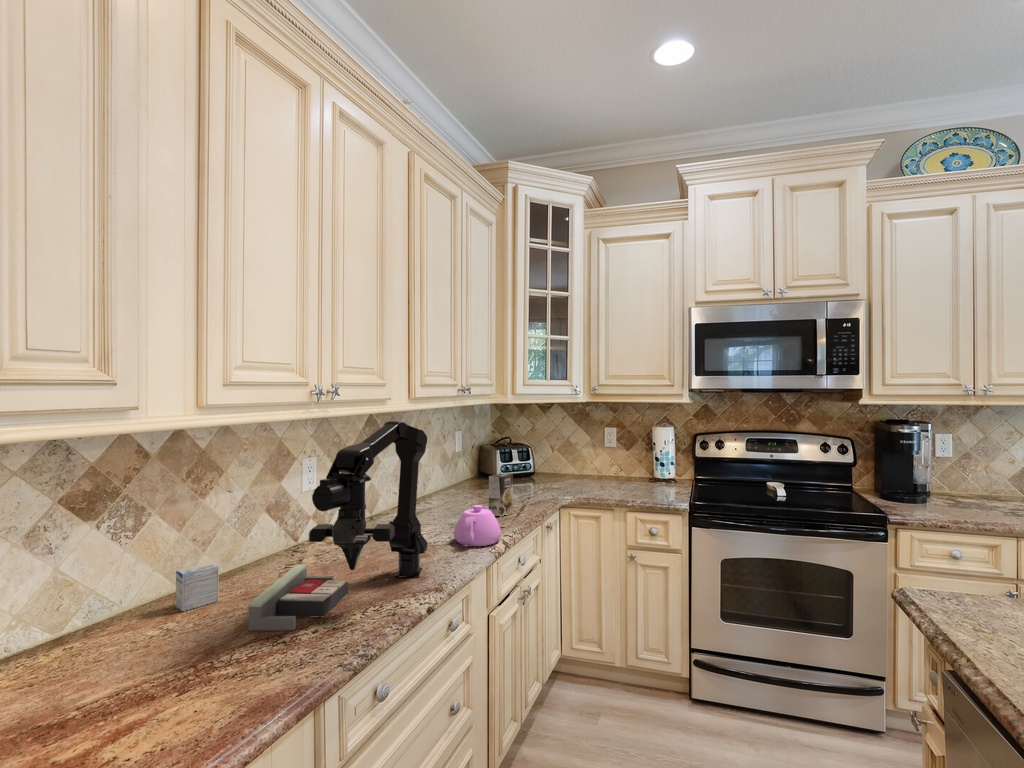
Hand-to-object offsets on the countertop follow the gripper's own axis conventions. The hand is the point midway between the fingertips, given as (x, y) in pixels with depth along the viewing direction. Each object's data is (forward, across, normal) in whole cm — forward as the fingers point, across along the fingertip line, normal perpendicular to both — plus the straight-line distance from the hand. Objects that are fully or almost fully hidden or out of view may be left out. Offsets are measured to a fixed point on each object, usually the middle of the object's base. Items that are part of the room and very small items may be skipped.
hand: (352, 569), depth 128 cm
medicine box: (+9, -37, +1) cm, 38 cm away
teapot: (+9, +26, +54) cm, 61 cm away
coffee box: (+8, +33, +93) cm, 99 cm away
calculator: (+9, -10, +2) cm, 13 cm away
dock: (+9, -13, 0) cm, 16 cm away
